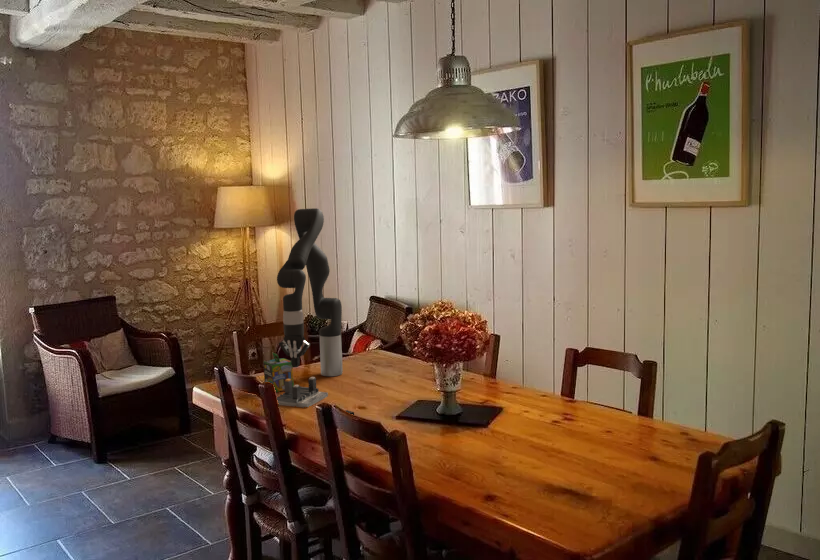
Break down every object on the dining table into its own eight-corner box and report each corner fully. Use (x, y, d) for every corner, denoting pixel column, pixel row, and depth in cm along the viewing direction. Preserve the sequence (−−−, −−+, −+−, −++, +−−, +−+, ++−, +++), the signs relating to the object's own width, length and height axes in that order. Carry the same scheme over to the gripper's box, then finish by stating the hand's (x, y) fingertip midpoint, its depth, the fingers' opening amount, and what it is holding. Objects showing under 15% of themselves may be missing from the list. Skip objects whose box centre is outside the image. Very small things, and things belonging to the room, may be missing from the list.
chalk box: (294, 389, 298) (293, 353, 296) (273, 393, 293) (271, 356, 291) (284, 384, 306) (283, 349, 304) (264, 388, 301) (262, 352, 299)
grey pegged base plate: (294, 392, 293) (293, 374, 292) (328, 396, 287) (327, 377, 286) (271, 404, 278) (270, 384, 277) (306, 408, 272) (306, 388, 271)
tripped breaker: (288, 393, 286) (287, 378, 285) (292, 394, 285) (292, 378, 284) (284, 395, 283) (284, 379, 283) (289, 395, 283) (288, 380, 282)
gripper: (313, 320, 280) (315, 365, 283) (283, 319, 285) (285, 363, 288) (303, 324, 273) (306, 370, 276) (273, 323, 278) (275, 368, 281)
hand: (295, 366), depth 282 cm, fingers closed
